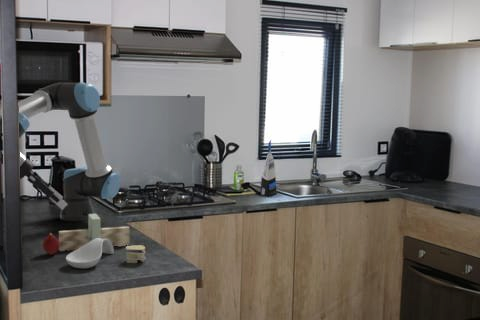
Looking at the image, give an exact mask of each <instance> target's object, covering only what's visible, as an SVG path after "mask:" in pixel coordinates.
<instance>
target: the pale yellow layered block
mask: <svg viewBox="0 0 480 320" xmlns="http://www.w3.org/2000/svg"><path fill="white" fill-rule="evenodd" d="M145 249H146V247H145V246H144V245H141V244H139V245H138V244H137V245H130V246H125V250H126V251H125V254H126V256H125V259H126V264H137V263H138V262H143V261H144V260H145V259H146V255H145V254H146V250H145Z"/></svg>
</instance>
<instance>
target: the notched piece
mask: <svg viewBox="0 0 480 320" xmlns="http://www.w3.org/2000/svg"><path fill="white" fill-rule="evenodd" d="M87 221H88V223H87V225H88V228H87V229H88V236H89V238H91V241H92V240H94V239H96V238H101V228H102V227H101V226H102V225H101V217H100V216H99V215H98V213H94V214H88V220H87Z"/></svg>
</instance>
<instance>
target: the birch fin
mask: <svg viewBox="0 0 480 320" xmlns="http://www.w3.org/2000/svg"><path fill="white" fill-rule="evenodd" d="M130 233H131V231H130V226H129V225H128V226H119V227H118V226H116V227H115V226H113V227H101V239H108V240H109V241H110V242H111V244H112V246H113V248H115V247H114V246H118V247H126V245H127V246H128V245H130V246H131V244H130V243H131V242H130V240H131V239H130ZM58 240H59V243H60V246H59V249H58V251H60V252H65V250H67V251H75V250H77V249H79V248H81V247H82V246H84V245H86V244H87V243H89V242H90V241H91V238H89V229H88V228H84V229H70V230H59V231H58Z"/></svg>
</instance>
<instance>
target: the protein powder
mask: <svg viewBox="0 0 480 320" xmlns="http://www.w3.org/2000/svg"><path fill="white" fill-rule="evenodd" d="M267 147H268V149H267V151H268V152H267V156H266V159H265V163H264V167H263V171H262V174H261V181H260V193H259V194H260V195H261V196H263V197H266V198H269V197H274V196H276V195H277V193H278V192H277V179H276V178H277V177H276V168H275V167H276V166H275V160H274V156H273V154H272V139H270V140H269V142H268V146H267Z"/></svg>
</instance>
